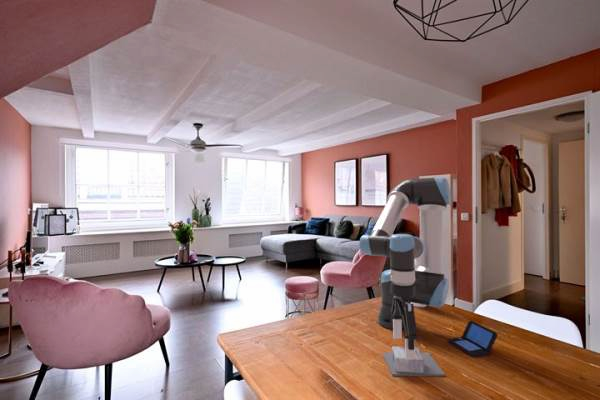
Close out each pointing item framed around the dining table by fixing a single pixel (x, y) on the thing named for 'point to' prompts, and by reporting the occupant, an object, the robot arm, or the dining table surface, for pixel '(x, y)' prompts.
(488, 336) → the handheld game console
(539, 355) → the dining table surface
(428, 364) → the mat
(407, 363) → the medicine box
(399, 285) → the robot arm
